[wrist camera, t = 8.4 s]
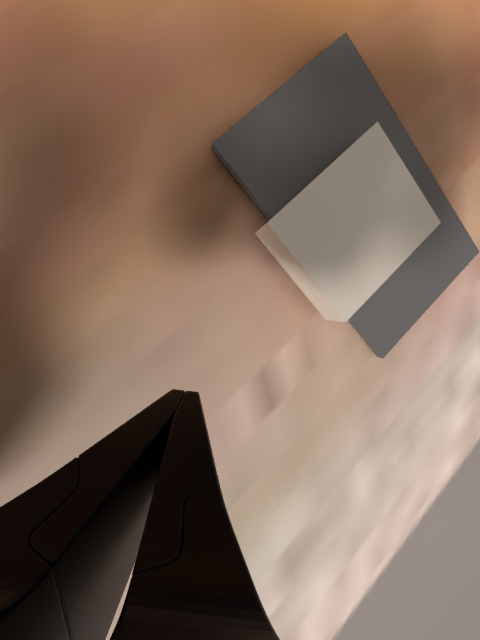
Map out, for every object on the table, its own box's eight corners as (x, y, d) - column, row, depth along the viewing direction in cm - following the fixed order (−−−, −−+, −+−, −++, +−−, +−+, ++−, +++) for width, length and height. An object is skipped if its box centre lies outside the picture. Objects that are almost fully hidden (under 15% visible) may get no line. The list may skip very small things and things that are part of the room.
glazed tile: (346, 322, 17) (441, 222, 18) (266, 223, 15) (377, 121, 17) (323, 319, 20) (407, 232, 21) (253, 234, 18) (350, 145, 19)
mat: (377, 356, 22) (383, 358, 21) (211, 148, 18) (212, 143, 17) (471, 253, 24) (479, 251, 23) (340, 40, 19) (346, 32, 19)
